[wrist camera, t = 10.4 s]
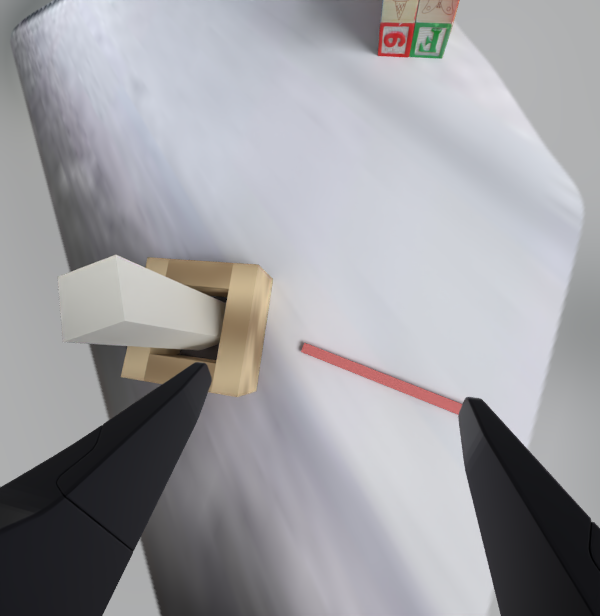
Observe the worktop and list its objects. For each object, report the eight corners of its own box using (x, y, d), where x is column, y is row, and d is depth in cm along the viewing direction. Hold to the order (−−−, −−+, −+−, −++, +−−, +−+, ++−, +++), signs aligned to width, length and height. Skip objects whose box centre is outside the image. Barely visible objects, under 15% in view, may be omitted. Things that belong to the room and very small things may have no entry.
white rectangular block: (234, 339, 25) (124, 320, 13) (199, 350, 26) (62, 341, 14) (226, 303, 26) (115, 254, 14) (192, 314, 27) (57, 276, 15)
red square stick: (479, 411, 21) (482, 412, 20) (476, 421, 21) (478, 422, 20) (305, 343, 24) (304, 342, 24) (301, 351, 24) (301, 351, 24)
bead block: (256, 391, 24) (237, 397, 20) (155, 374, 26) (120, 376, 22) (272, 279, 26) (258, 264, 22) (176, 271, 28) (147, 257, 24)
